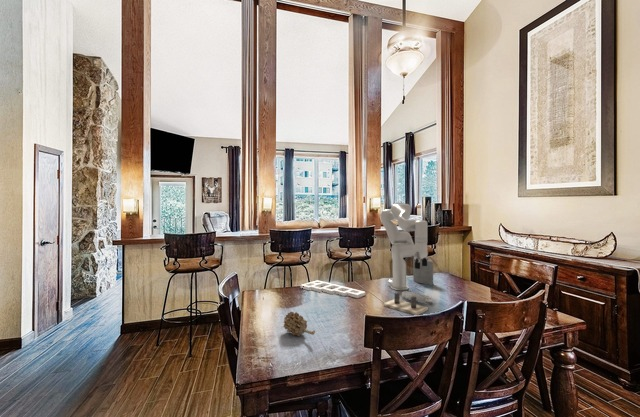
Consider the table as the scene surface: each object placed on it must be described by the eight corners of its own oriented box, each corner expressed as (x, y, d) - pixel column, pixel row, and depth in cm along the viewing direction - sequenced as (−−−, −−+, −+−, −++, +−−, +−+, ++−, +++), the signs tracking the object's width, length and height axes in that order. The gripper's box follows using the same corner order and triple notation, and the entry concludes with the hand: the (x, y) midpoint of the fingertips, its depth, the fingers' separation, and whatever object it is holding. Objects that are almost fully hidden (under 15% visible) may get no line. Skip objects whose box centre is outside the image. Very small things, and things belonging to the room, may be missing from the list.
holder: (365, 295, 204) (365, 291, 204) (349, 302, 191) (348, 298, 191) (317, 283, 236) (317, 280, 235) (300, 288, 222) (300, 284, 222)
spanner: (400, 297, 199) (400, 291, 199) (403, 296, 202) (403, 290, 202) (430, 305, 184) (430, 298, 184) (433, 303, 187) (433, 297, 187)
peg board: (383, 305, 183) (383, 293, 183) (394, 301, 192) (394, 289, 191) (417, 315, 167) (417, 301, 167) (427, 309, 176) (427, 296, 176)
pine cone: (277, 332, 147) (277, 312, 147) (292, 326, 154) (292, 307, 154) (310, 347, 132) (309, 325, 132) (324, 340, 139) (324, 318, 139)
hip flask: (433, 284, 229) (433, 257, 228) (431, 285, 226) (431, 258, 226) (414, 280, 241) (414, 255, 240) (412, 281, 238) (412, 255, 237)
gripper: (421, 238, 200) (421, 264, 201) (408, 241, 188) (408, 268, 188) (432, 239, 195) (432, 265, 195) (420, 242, 182) (420, 270, 183)
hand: (421, 267), depth 192 cm, fingers open, 9 cm apart
